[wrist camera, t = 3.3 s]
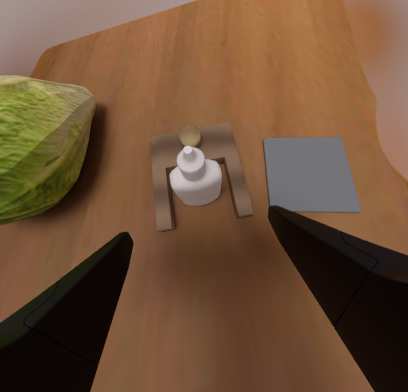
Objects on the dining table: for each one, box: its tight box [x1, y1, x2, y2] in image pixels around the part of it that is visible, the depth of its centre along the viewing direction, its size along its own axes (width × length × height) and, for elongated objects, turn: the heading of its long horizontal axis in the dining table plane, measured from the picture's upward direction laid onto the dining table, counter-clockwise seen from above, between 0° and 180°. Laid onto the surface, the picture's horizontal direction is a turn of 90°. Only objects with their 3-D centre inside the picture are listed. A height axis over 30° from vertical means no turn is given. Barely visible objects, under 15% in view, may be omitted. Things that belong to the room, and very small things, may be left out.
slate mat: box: [263, 137, 361, 213], centre depth 22 cm, size 12×12×1 cm
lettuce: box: [0, 75, 97, 225], centre depth 20 cm, size 15×25×16 cm
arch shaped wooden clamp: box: [150, 122, 254, 232], centre depth 21 cm, size 15×13×4 cm
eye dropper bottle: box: [170, 146, 222, 206], centre depth 17 cm, size 4×6×12 cm
